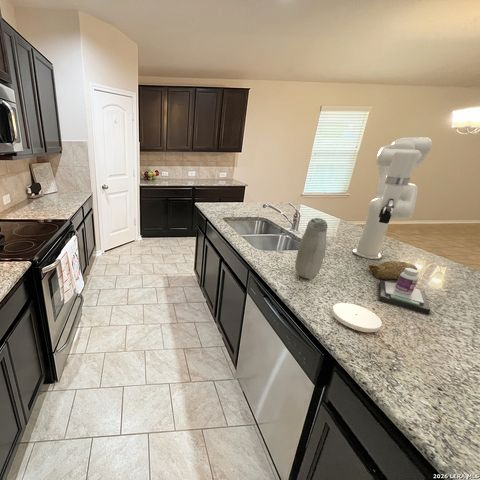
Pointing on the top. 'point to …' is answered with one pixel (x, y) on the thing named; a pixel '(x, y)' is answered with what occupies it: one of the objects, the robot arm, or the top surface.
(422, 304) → the scale
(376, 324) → the plastic lid
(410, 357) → the top surface
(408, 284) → the pill bottle
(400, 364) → the top surface
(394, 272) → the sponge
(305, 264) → the gray vase
